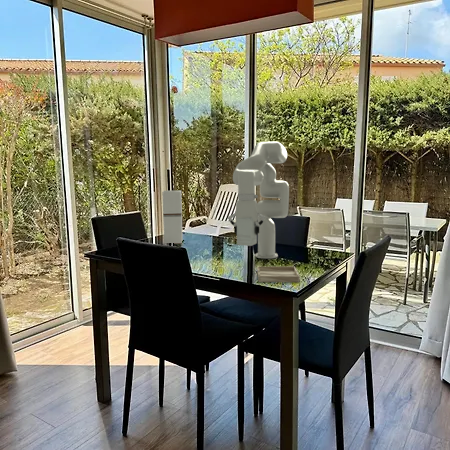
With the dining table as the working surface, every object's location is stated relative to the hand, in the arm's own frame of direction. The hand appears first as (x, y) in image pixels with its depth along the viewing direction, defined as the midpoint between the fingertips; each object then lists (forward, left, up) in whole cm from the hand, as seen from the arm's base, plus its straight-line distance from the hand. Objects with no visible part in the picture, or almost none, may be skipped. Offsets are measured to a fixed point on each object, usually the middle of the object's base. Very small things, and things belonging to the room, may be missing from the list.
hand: (246, 234), depth 193 cm
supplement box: (0, 0, -5) cm, 5 cm away
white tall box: (-74, -47, -19) cm, 90 cm away
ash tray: (+4, +14, -19) cm, 24 cm away
